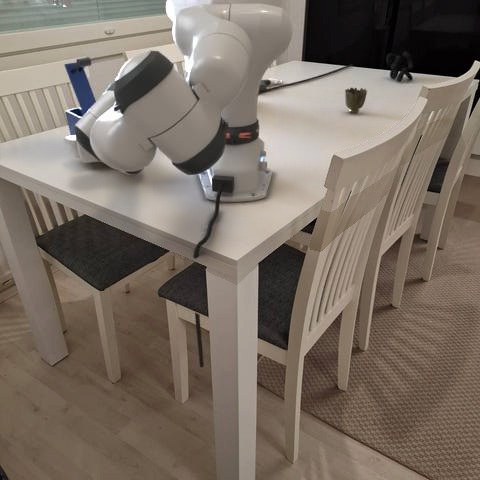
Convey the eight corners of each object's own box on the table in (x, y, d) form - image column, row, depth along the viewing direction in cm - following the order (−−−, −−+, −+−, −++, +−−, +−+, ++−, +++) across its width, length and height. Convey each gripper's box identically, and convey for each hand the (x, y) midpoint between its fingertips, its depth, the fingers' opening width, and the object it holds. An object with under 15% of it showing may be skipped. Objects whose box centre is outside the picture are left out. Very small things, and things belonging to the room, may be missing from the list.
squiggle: (400, 92, 202) (376, 71, 205) (417, 76, 202) (392, 56, 205) (405, 81, 191) (380, 59, 194) (423, 64, 191) (397, 42, 194)
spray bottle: (231, 92, 187) (266, 82, 203) (251, 96, 181) (286, 85, 197) (231, 84, 185) (266, 75, 201) (251, 88, 179) (286, 78, 195)
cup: (340, 114, 157) (342, 91, 153) (346, 109, 163) (348, 86, 159) (361, 116, 154) (364, 93, 150) (366, 111, 160) (369, 88, 156)
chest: (71, 140, 140) (64, 110, 135) (85, 136, 142) (79, 107, 137) (92, 152, 130) (85, 121, 125) (107, 148, 133) (101, 117, 128)
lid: (64, 64, 122) (73, 53, 115) (80, 62, 125) (90, 50, 117) (85, 119, 125) (95, 111, 118) (100, 116, 128) (111, 108, 120)
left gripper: (75, -60, 103) (87, 7, 111) (50, -57, 118) (62, 3, 125) (47, -60, 100) (62, 9, 108) (25, -57, 114) (39, 4, 122)
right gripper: (145, 125, 124) (125, 114, 133) (71, 141, 114) (56, 127, 123) (148, 147, 127) (128, 134, 136) (77, 164, 117) (61, 149, 127)
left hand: (62, 5), depth 116 cm, fingers open, 7 cm apart
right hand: (93, 131), depth 130 cm, fingers closed on chest, 5 cm apart
